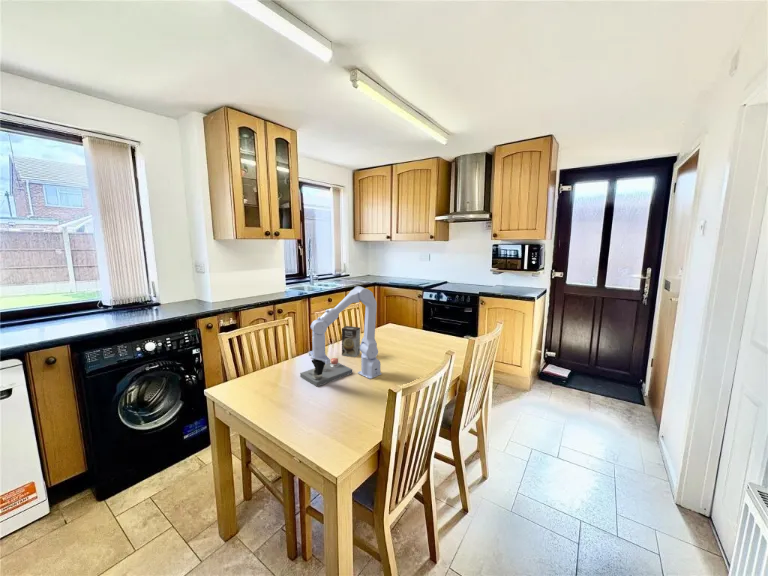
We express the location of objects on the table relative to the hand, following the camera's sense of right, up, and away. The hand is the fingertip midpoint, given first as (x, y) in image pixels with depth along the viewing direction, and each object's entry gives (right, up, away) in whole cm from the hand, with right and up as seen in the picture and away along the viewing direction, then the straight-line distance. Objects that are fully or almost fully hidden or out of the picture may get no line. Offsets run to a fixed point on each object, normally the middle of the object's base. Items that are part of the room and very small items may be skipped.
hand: (319, 374), depth 144 cm
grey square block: (-1, -2, +2) cm, 3 cm away
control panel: (+2, -3, +9) cm, 10 cm away
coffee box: (+11, +1, +37) cm, 38 cm away
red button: (+4, +1, +16) cm, 17 cm away
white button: (-1, +1, +11) cm, 11 cm away
